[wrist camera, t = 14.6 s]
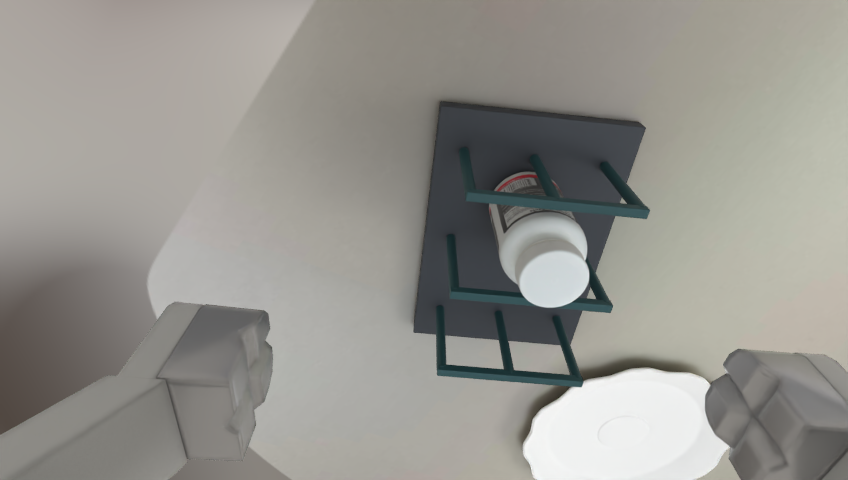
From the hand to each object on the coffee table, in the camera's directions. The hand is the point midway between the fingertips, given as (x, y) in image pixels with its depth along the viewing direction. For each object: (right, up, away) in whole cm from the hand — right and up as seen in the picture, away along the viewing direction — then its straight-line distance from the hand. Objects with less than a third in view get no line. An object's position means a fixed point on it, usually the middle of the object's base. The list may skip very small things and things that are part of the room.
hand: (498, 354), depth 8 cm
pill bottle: (+6, +5, +27) cm, 28 cm away
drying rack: (+6, +2, +30) cm, 30 cm away
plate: (+19, -18, +42) cm, 49 cm away
